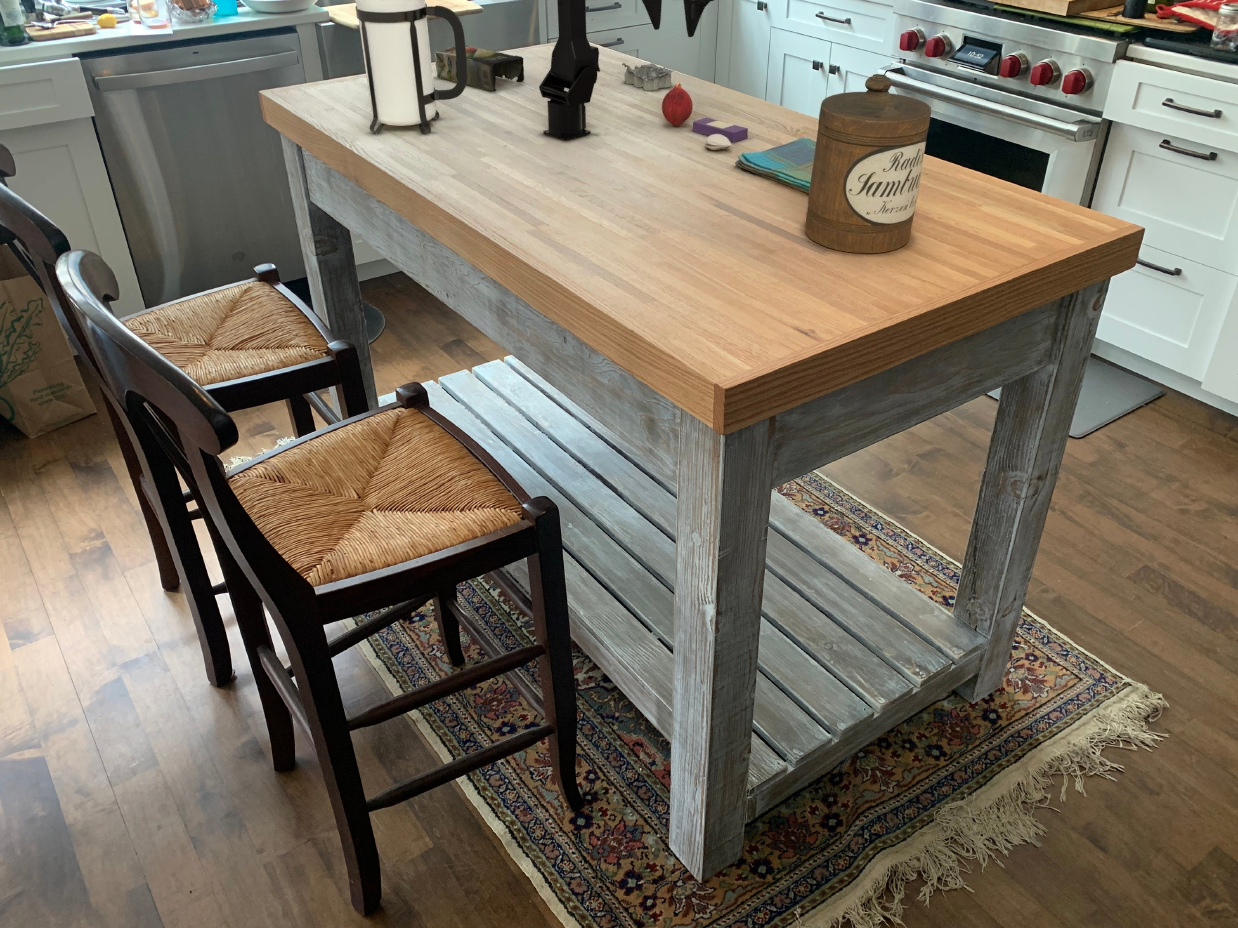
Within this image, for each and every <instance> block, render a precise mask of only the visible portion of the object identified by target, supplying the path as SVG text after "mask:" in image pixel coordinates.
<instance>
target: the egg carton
mask: <svg viewBox="0 0 1238 928" xmlns="http://www.w3.org/2000/svg"><path fill="white" fill-rule="evenodd" d="M621 65H622V66H624V68H626V70H625V72H624V83H625V84H626V85H633V87H634V88H635V87H636V88H643V90H644V91H658V89H662V88H671V86H672V73H673V72H674V71H675V69H670V68H669V69H668V68H667V67H665V66H663V67H662V66H658V65H656V64H655V63H653V62H651V63H648V64H647V63H646V64H641V65H640V66H637V65H635V66H634V69H633V68H631V66H630V65H629V64H626V63H625V62H622V64H621Z"/></svg>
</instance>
